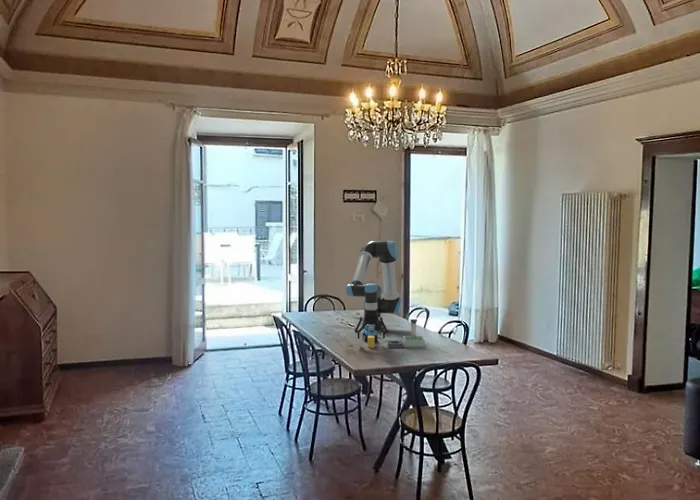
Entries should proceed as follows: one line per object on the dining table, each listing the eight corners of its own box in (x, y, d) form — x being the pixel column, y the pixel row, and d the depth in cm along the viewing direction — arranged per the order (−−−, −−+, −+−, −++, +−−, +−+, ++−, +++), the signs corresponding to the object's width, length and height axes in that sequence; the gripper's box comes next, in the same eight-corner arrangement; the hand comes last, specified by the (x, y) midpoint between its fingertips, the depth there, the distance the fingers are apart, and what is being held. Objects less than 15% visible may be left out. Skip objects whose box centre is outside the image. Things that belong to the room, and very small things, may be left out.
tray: (403, 343, 370) (403, 336, 369) (422, 343, 369) (422, 336, 369) (404, 347, 358) (404, 340, 357) (424, 347, 357) (424, 340, 357)
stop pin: (410, 343, 365) (410, 319, 365) (416, 343, 365) (416, 319, 364) (410, 344, 362) (410, 320, 361) (417, 344, 361) (417, 320, 360)
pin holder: (387, 344, 366) (387, 340, 366) (401, 344, 366) (401, 340, 366) (388, 347, 357) (388, 343, 357) (402, 347, 357) (402, 343, 357)
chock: (367, 347, 359) (367, 337, 358) (367, 345, 365) (367, 335, 364) (374, 347, 359) (374, 337, 358) (374, 345, 365) (374, 335, 364)
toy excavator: (367, 344, 368) (367, 316, 367) (361, 338, 384) (361, 312, 383) (380, 343, 370) (380, 316, 368) (374, 337, 386) (374, 311, 385)
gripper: (350, 310, 357) (350, 345, 358) (391, 310, 356) (391, 345, 358) (350, 308, 364) (350, 342, 366) (391, 308, 364) (391, 342, 365)
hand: (371, 343), depth 362 cm, fingers open, 13 cm apart
